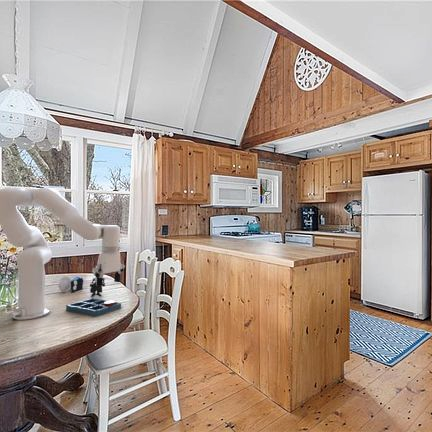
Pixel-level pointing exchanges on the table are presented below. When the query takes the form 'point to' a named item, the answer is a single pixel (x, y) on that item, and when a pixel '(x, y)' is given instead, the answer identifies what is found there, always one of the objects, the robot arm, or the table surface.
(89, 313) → the grid
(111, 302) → the cylinder
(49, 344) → the table surface
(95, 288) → the toy
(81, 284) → the toy
